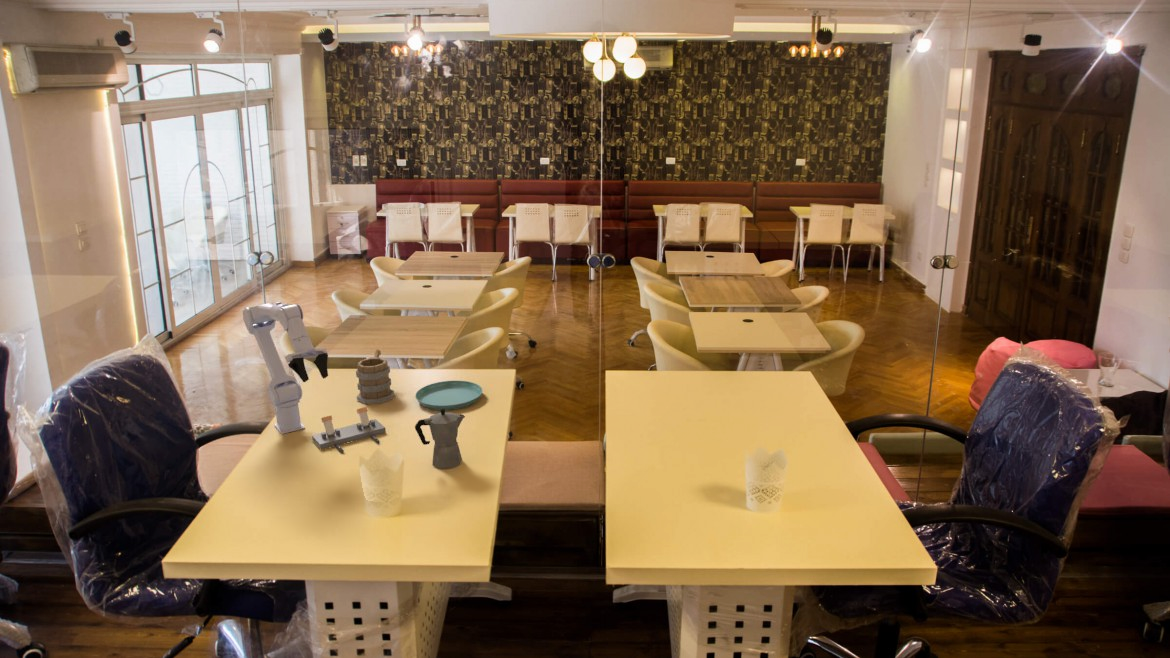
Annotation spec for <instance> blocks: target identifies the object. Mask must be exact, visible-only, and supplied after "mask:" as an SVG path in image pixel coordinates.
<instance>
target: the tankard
mask: <svg viewBox="0 0 1170 658" xmlns="http://www.w3.org/2000/svg"><path fill="white" fill-rule="evenodd" d="M381 355H382V351H381V350H380V349H375V352H374V356H373V357H370V358H365V359H361V360H360V361H358V363H357V364H356V365H357V366H356V368H357V369H356V371H355V375H356V376H355V377H356V378H358V383H356V385H357V390H359V393H358V394H357V396H356V401H358V402H360V403H362V404H364V405H379V404H383V403H385V402H389V401H391V400H392V399H393V398H394V396H395V390H393V389H391V386H392V379H391V378H390V375H389V374H390V372H391V368H390V367H391V366H390V365H388V360H387V359H384V358H383V357H380V356H381Z"/></svg>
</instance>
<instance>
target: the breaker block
mask: <svg viewBox="0 0 1170 658" xmlns="http://www.w3.org/2000/svg"><path fill="white" fill-rule="evenodd" d="M369 422H370V426H368V427H364V428H363V427H362V424H361V422H358V423H356V424H351V425H348V426H342V427H338V428H334V432H335V435H332V436H328V437H327V434H326V431H322V432H319V433H314V434H312V435H311V440H313V441H312V442H313V443H314V444H315V446H317V448H320V449H321V450H320V449H319V450H320V451H323V450H326V449H325V448H327V449H330V448H329V447H331V448H333V447H332V446H334V447H335V448H336V449H337V450H338V451H339V452H340V453H341V454H343V453H344V451H345V450H344V449H343V448H342V447H341V446H342V445H344V443H346V444H348V443H347V442H350V443H352V442H351V441H354V442H356V440H357V441H360V440H361V441H362V440H365V439H368V438H371V439H372V440H373V441H374V442H375V443H376V444H380V440H379V439H378V438H377V436H380V435H383V434H384V435H385V434H387V432H386V431H387V430H386V427H385V426H384V425H383V424H382V423H381V422H379V421H378V420H377V419H371V420H370V419H369ZM341 444H342V445H341ZM322 449H323V450H322Z"/></svg>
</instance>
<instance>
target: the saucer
mask: <svg viewBox="0 0 1170 658" xmlns="http://www.w3.org/2000/svg"><path fill="white" fill-rule="evenodd" d="M482 394H483V387H482V386H480V385H479V384H478V383H475V382H472V381H466V380H444V381H439V382H433V383H430V384H427V385H425V386H423V387H421V388H420V389H418V390H417V391H416V393H415V396H414V397H415V399H416V401H417V402H418V403H419V404H420V405H421V406H423V407H425V408H427V409H431V410H434V411H440V409H445V411H450V410H451V411H452V410H459V409H463V408H466V407H468V406H471V405H473V404H474V403H475V402H477V401H478V400H479V399H480V397H481V395H482Z"/></svg>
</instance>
